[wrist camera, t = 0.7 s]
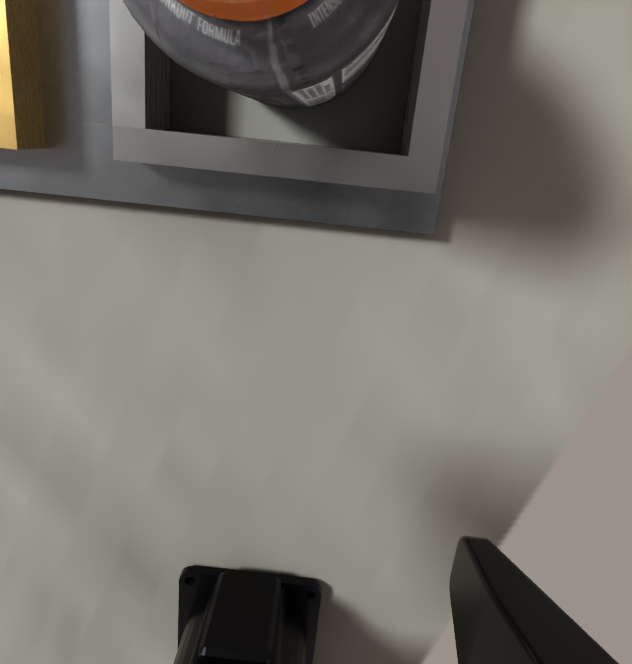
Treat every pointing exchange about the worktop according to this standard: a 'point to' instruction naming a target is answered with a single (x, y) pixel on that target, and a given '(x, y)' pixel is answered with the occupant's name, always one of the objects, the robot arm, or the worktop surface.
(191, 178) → the faceplate
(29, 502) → the worktop surface
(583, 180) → the worktop surface
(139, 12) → the pill bottle
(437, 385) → the worktop surface
